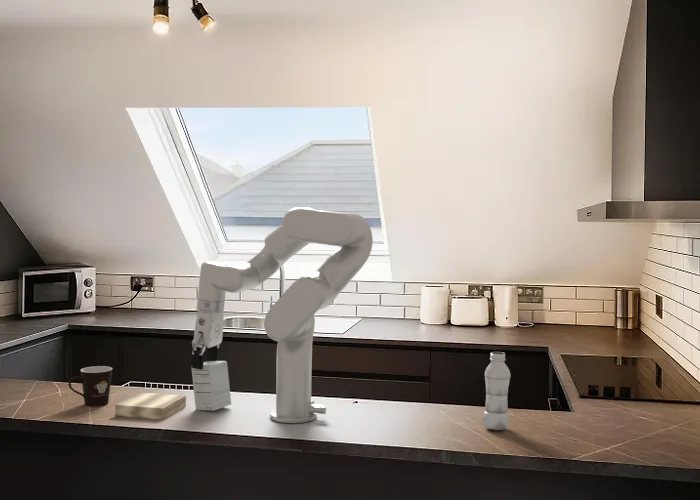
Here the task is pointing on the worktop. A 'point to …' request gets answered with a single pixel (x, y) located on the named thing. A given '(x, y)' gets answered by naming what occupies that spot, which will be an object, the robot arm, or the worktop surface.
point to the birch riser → (150, 405)
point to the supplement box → (211, 386)
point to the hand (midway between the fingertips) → (204, 365)
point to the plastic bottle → (496, 393)
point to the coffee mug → (94, 385)
